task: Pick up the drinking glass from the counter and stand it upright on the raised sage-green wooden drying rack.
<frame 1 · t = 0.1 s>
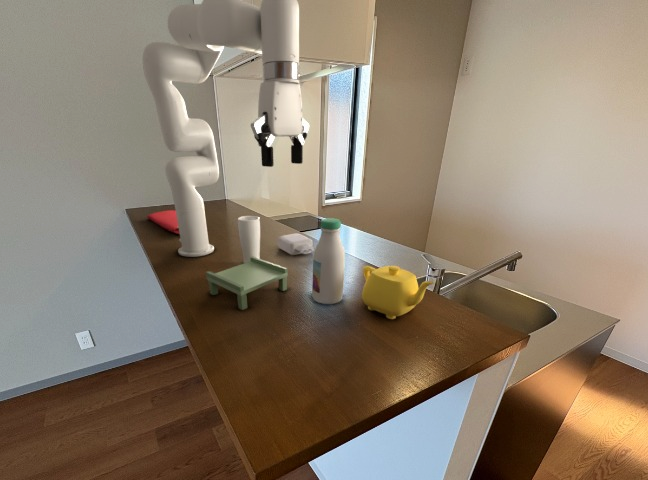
hand: (282, 164, 74), 31 cm above the table, tool pointing down, fingers open, 9 cm apart
drinking glass: (251, 264, 104), on the table
red flat wedge: (175, 225, 152), on the table
rack: (248, 291, 86), on the table
milk bottle: (327, 298, 82), on the table
teapot: (390, 310, 76), on the table
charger: (299, 252, 114), on the table
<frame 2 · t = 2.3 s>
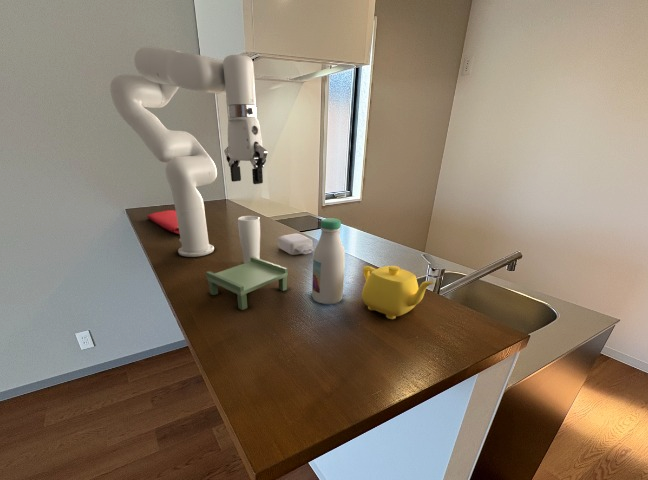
hand: (246, 182, 92), 25 cm above the table, tool pointing down, fingers open, 9 cm apart
nothing on the table moved.
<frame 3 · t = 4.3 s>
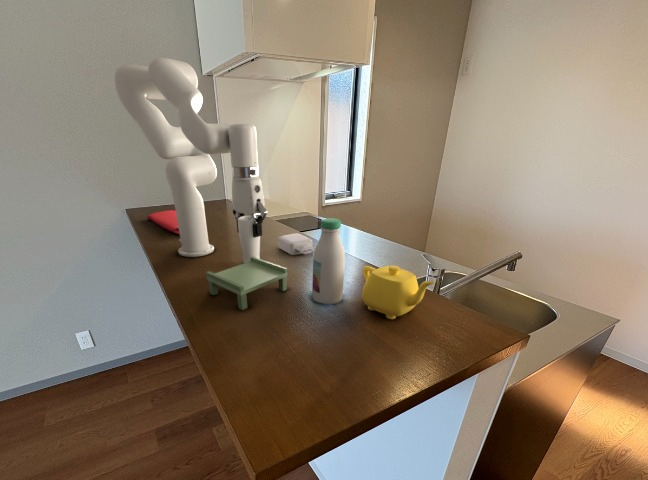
hand: (249, 233, 99), 10 cm above the table, tool pointing down, fingers closed on drinking glass, 6 cm apart
drinking glass: (251, 264, 104), on the table, touching gripper
everything else where it was.
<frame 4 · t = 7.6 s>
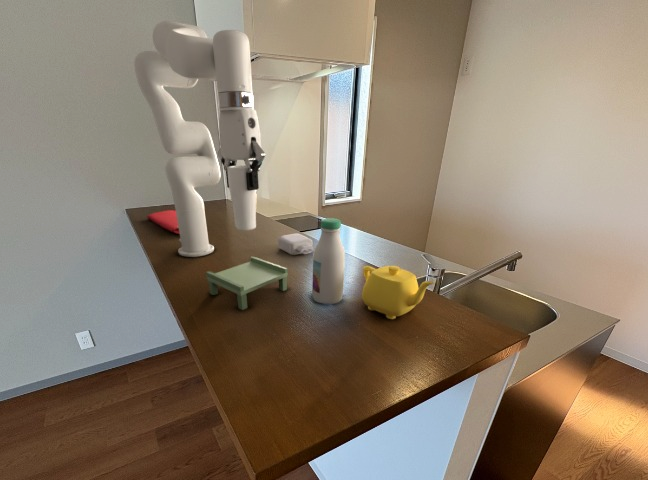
hand: (242, 187, 78), 26 cm above the table, tool pointing down, fingers closed on drinking glass, 6 cm apart
drinking glass: (246, 229, 83), point 16 cm above the table, touching gripper
everything else where it was.
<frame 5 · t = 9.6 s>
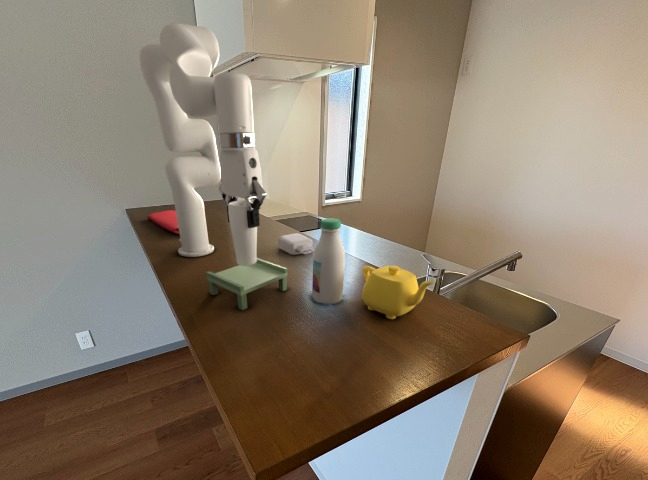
hand: (243, 223, 77), 18 cm above the table, tool pointing down, fingers closed on drinking glass, 6 cm apart
drinking glass: (246, 263, 82), point 8 cm above the table, touching gripper
everything else where it was.
when the fingers open (15 cm above the table, at t = 11.0 s): drinking glass stays where it is, resting on rack.
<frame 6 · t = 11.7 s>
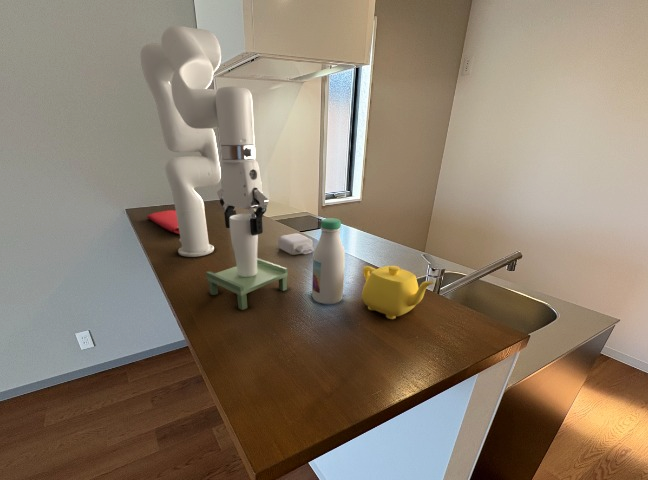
hand: (243, 230, 78), 17 cm above the table, tool pointing down, fingers open, 9 cm apart
drinking glass: (247, 274, 84), point 5 cm above the table, touching rack
everything else where it was.
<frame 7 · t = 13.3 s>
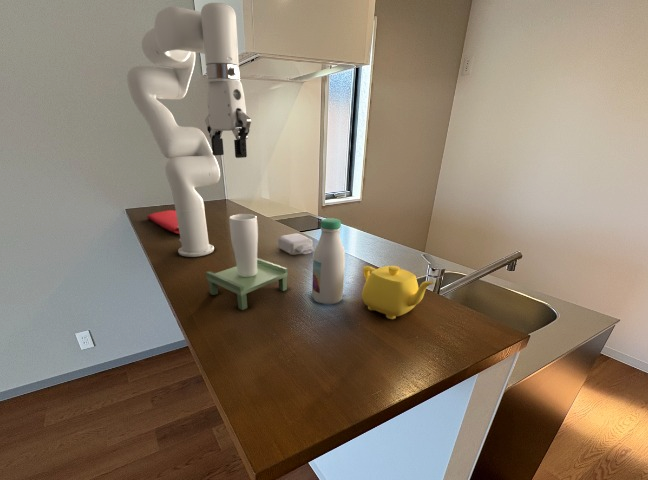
hand: (229, 156, 82), 33 cm above the table, tool pointing down, fingers open, 9 cm apart
nothing on the table moved.
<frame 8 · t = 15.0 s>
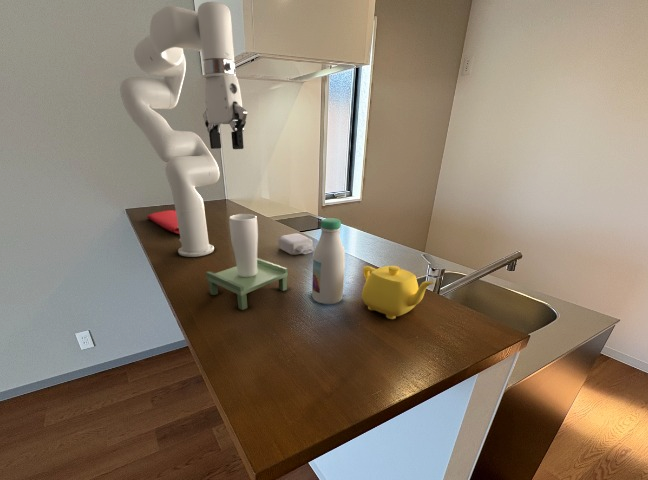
hand: (226, 148, 86), 34 cm above the table, tool pointing down, fingers open, 9 cm apart
nothing on the table moved.
at the end: drinking glass inside the target area on the rack (0.1 cm from its centre), point 4.8 cm above the rack's base; drinking glass tilted 0°; the gripper is holding nothing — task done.
